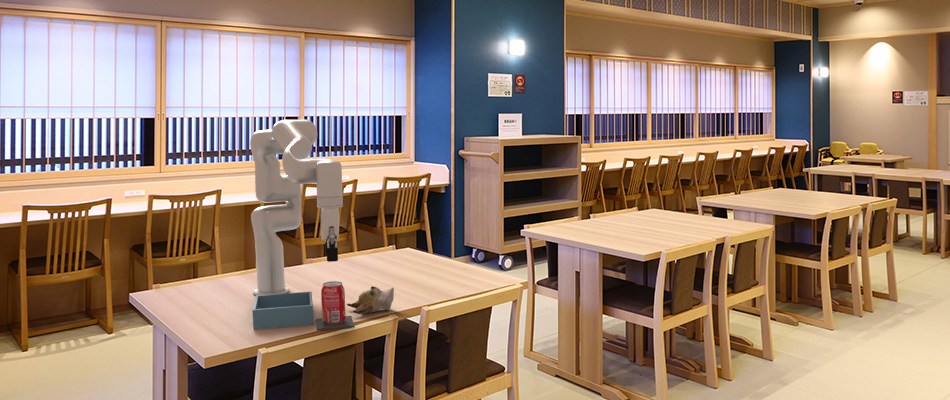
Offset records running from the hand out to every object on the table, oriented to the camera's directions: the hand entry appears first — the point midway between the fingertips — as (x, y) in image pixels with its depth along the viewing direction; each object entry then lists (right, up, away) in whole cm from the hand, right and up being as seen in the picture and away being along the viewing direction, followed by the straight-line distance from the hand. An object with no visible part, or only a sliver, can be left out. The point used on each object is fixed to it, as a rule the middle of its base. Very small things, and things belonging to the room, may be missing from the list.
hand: (331, 257), depth 208 cm
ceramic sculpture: (+10, -19, +15) cm, 27 cm away
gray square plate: (0, -20, +2) cm, 21 cm away
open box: (-17, -20, +8) cm, 27 cm away
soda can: (0, -20, +2) cm, 20 cm away
